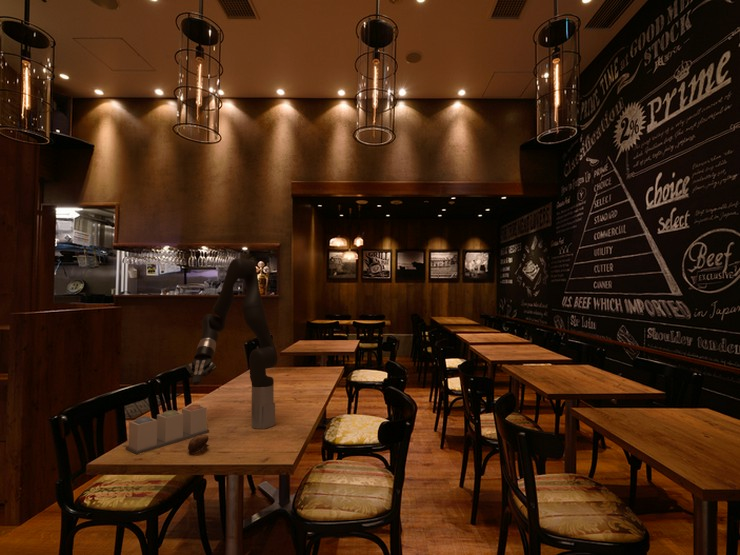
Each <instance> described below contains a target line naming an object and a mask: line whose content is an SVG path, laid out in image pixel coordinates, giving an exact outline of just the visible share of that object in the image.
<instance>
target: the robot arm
mask: <svg viewBox="0 0 740 555" xmlns="http://www.w3.org/2000/svg"><path fill="white" fill-rule="evenodd" d="M225 273H226V274H225V276H224V280H223V284H222V286H221V290H220V293H219V295H218V297H217V300H216V301H215V304H214V305H213V307H212V311H213V313H214V314H215V315H214V314H212V313H207V314H205V315H204V317H203V319H202V320H201V322H202V323H201V328H202V329H201V332H202V333H201V337H200V341H199V343H198V344H197V347H196V350H195V354H194V357H193V359H192V361H191V363H189V364H188V363H186V364H185V368H186V370H187V371H188V373H189V374H190V376H191V377H193V378H192V384H193V385H194V386H198V385H200V384H201V381H202V378H203V377H208V375H210V374H211V373H212V372H213V371H215V369H217V366H216V364H215V363H214V362H213V360H214V355H215V352H216V346H217V343H218V339H219V333H221V332H222V331H224V330H225V327H226V322H227V316H228V314H229V312H230V309H231V308H232V306H233V303H234V301H235V300H234V299H235V293H234V288H235V284H236V283H237V281H238V280H244V282H245V288H246V291H245V296H244V299H243V301H242V306H241V307H242V308H241V309H242V314H243V318H244V322H245V324H246V325H247V327H248V328H249V329H250V330H251V332H252V333H253V334H254V335H255V337H256V339H257V340H258V343H259V347H260V348H255V349H253V350H252V351H251V352H250V354H249V358H248V359H249V360H248V361H249V362H248V363H249V366H248V368H249V379H250V382H251V428H253V429H256V430H257V429H258V430H265V429H268V428H272V427H273V426H275V425H276V402H274V397H275V396H274V394H275V393H274V390H275V389H274V387H275V386H274V385H275V384H274V383H275V382H274V381H275V380H274V377H272V376H270V375H269V376H268V375H267V371H266V369H267V370H268V369H272V368H274V367H275V366H277V364H278V361H279V360H278V359H279V357H278V351H277V349H276V346H275V344H274V341H273V337H272V335H271V331H270V327H269V324H268V321H267V315H266V311H265V307H264V303H263V299H262V295H261V290H260V285H259V278H258V277H259V276H258V271H257V266H256V264H255V262H254V261H253V260H251V259H245V258H234V259H232V260H231V262H229V265H228V268H227V270H226V272H225ZM193 369H194V370H193Z"/></svg>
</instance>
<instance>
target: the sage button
mask: <svg viewBox="0 0 740 555" xmlns="http://www.w3.org/2000/svg"><path fill="white" fill-rule="evenodd" d="M177 412H178V411H177V410H175V409H173V410H170V409H169V410H166V411H164V412H162V414H163V416H165V417H169V416H173V415H177Z"/></svg>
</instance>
